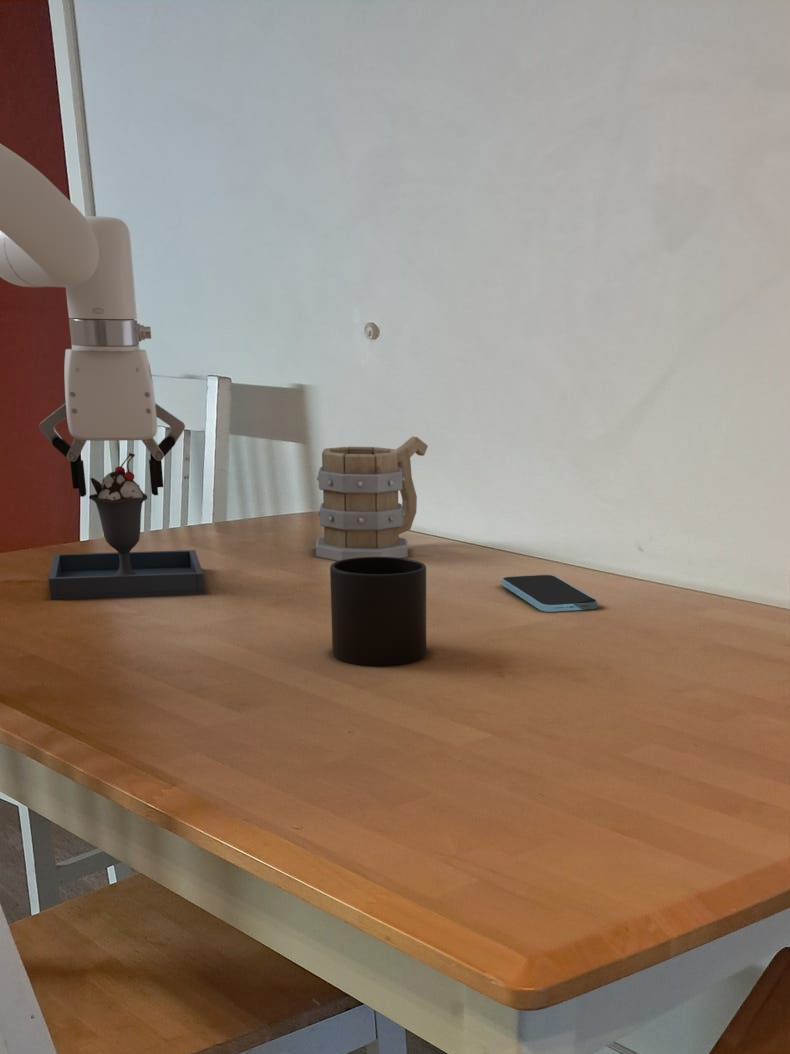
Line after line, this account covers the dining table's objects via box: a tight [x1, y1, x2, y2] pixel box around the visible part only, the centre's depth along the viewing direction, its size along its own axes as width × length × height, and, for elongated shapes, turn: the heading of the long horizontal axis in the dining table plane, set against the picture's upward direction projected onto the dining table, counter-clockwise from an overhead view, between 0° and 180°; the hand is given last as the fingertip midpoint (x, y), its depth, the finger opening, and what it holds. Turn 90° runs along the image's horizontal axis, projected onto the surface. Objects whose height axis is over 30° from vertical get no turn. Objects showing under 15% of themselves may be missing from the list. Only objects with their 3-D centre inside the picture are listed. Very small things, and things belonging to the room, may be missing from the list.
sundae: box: [88, 452, 148, 575], centre depth 154 cm, size 7×7×15 cm
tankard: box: [315, 436, 429, 562], centre depth 178 cm, size 20×13×15 cm, turn 139°
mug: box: [329, 557, 427, 667], centre depth 128 cm, size 9×12×9 cm
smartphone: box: [501, 574, 598, 613], centre depth 154 cm, size 7×1×15 cm
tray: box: [48, 549, 206, 601], centre depth 157 cm, size 18×16×3 cm
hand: (119, 493), depth 153 cm, fingers open, 7 cm apart
